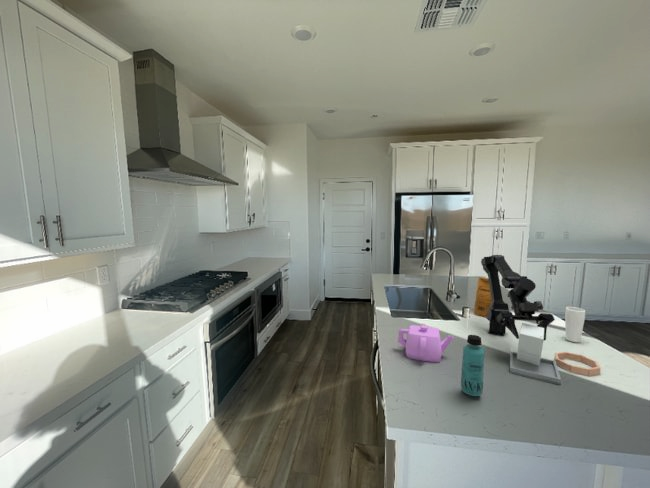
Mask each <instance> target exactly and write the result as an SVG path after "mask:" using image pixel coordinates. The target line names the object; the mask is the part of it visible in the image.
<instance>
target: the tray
mask: <svg viewBox="0 0 650 488" xmlns="http://www.w3.org/2000/svg"><path fill="white" fill-rule="evenodd" d="M509 352H510V353H509V354H510V355H509V363H510V365H509V368H510V369H509V370H510V371H509V373H510V374H514V375H517V376H522V377H526V378H530V379H535V380H538V381H542V382H547V383H551V384H554V385H558V386H559V385H560V386H561V385H562V378H561V375H560V371H559V368H558V366H557V364H556V361H555V360H553V359H548V358H544V357H541V359H540V365H535V364H532V363H529V362H525V361H522V360H519V359H517V353H518V352H516V351H515V352H514V351H509Z"/></svg>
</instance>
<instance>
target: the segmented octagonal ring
mask: <svg viewBox="0 0 650 488" xmlns="http://www.w3.org/2000/svg"><path fill="white" fill-rule="evenodd" d="M553 357H554V360H553V361H556V364H557V367H559V368H561V369H563V370H565V371H568V372H570V373H573V374H576V375H582V376H586V377H592V376H593V377H594V376H600V375H601V366H600V365H599V363H598V361H597V360H594V359H592V358H590V357H587V356H586V355H583V354H580V353H579V354H578V353H575V352H574V353H573V352H569V351H561V352H554V356H553ZM564 359H565V360H571V361H576V362H580V363H583V364H585V365H586V366H587V365H588V366H590V368H589V367H588V368H587V367H582V366H577V365H573V364H570V363H568V362H565V361H564Z"/></svg>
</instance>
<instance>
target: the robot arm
mask: <svg viewBox="0 0 650 488" xmlns="http://www.w3.org/2000/svg"><path fill="white" fill-rule="evenodd" d="M480 263H481V266H482V270H483V271H484V272H485V273H486V274H487V279H488V280H489V286H490V293H491V299H492V303H491V304H490V306H489V311H488V312H487V313H486V317H485V318H486V320H488V321H489V325H488V327H489V329H488V334H491V335H495V336H496V335H498V336H502V337H504V336H505V334H506V330H507V329H508V330H509V331H510V332H511V334H512V335H513V336H514V337H515V338H516V339H517V340H519V332H518V328H517V326H516V324H515V323H516V322H515V321H525V322H526V321H527V322H528V321H530V322H535V323H536V324H537V325H536V326H537V327H542V328H544V341H546V340H547V329H548V326H549V325H551V324H552V323H553V322H554V321H555V320H556V319H555V317H554V314H551V313H544V312H540V313H539V314H538V315H535V314H536V312H537V313H538V312H539V311H542V310H544V307H543V306H544V305H543V303H542V301H540V300H535V301H533V302H530V301H528V300H527V297H529V296H530V295H531V294H532V292H533V291H535V289H536V286H537V285H536V283H535V282H534V281H533V280H531V279H530V278H528V277H527V276H526V275H520V274H519V273H518V272H516V271H513V269H512V267H510V265H509V264H508V262H507V261H506V259H505V256H504V255H502V254H493V255H490V256H483V258H481V260H480ZM499 274H500V275H499ZM500 276H501V283H500V281H499V280H500ZM501 285H502V286H503V288H505V289H507V290H508V289H510V290H509V291H508V293H507V298H509V300H510V303H511V307H510V308H511V310H513V312H511V311H510V310H509V303H506V302H505V301H504V300H503V294H502V293H503V292H502V288H501ZM513 313H514V314H513ZM506 328H507V329H506ZM544 341H543V342H544Z"/></svg>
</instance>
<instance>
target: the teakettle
mask: <svg viewBox="0 0 650 488" xmlns="http://www.w3.org/2000/svg"><path fill="white" fill-rule="evenodd" d="M404 334H406V335H407V336H406V338H404ZM397 338H398V339H397V342H398V343H399V344H400V345H402V346H403V347H405V354H406V357H407V358H408V359H413V360H416V361H421V362H422V361H423V362H431V363H440V362H441V359H442V354H443V353H444V352H445V350H446V349H447V348H448V346H449V345H451V342H452V341H453V340H454V336H453V335H449V334H448V336H447V337H446V338H444V339H443V340H441V335H440V329H439V328H437V327H433V326H427V325H426V324H423V323H422V324H421V325H417V324H416V325H415V324H412V325H411V324H410V325H409V328H402V327H401V328H399V330H398V337H397Z"/></svg>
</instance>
